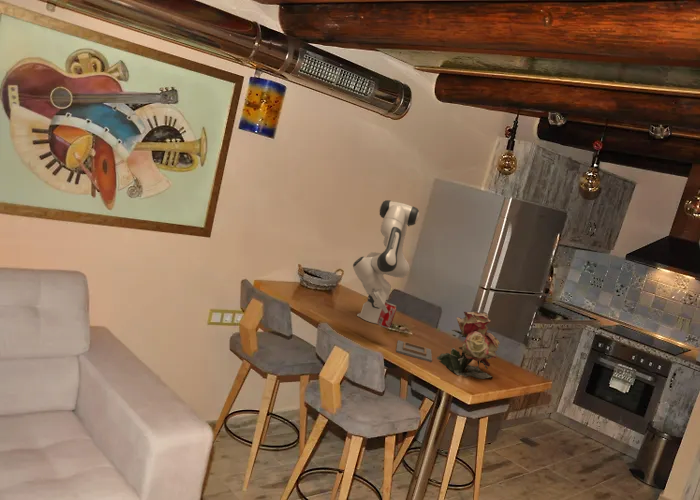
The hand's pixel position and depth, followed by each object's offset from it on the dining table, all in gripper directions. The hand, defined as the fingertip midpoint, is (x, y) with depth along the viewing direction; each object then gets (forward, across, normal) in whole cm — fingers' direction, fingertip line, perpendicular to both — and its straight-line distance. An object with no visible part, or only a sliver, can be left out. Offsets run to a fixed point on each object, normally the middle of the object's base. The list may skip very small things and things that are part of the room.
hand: (387, 310), depth 314 cm
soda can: (+6, -1, +6) cm, 8 cm away
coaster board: (+25, +2, -1) cm, 25 cm away
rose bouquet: (+45, -4, -20) cm, 49 cm away
